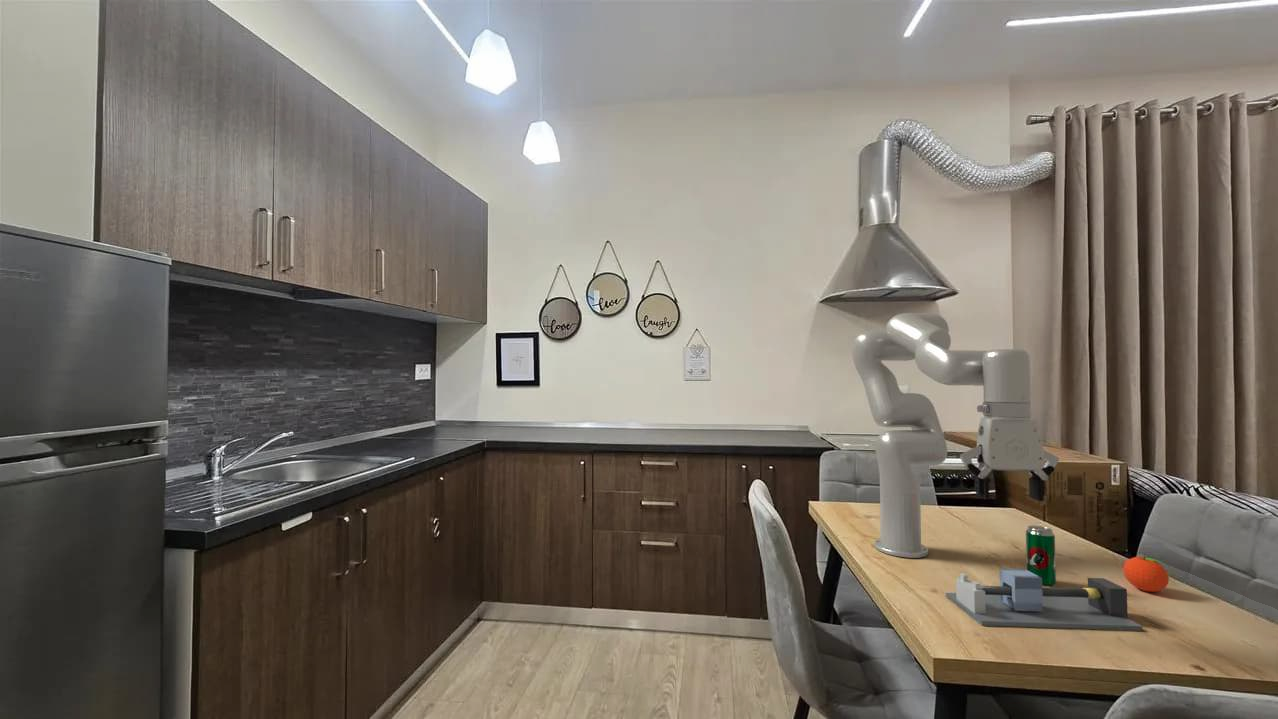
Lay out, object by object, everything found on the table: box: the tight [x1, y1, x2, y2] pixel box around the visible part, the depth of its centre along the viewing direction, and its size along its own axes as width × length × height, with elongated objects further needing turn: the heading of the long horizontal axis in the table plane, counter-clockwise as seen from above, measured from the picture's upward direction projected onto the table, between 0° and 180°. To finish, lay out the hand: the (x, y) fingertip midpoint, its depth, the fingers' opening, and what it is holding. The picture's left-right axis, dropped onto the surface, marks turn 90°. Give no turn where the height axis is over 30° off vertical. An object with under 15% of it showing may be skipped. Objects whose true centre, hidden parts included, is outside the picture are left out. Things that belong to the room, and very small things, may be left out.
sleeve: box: [999, 568, 1043, 611], centre depth 97 cm, size 5×4×6 cm
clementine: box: [1122, 556, 1174, 593], centre depth 106 cm, size 8×7×7 cm
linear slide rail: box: [945, 573, 1144, 632], centre depth 96 cm, size 28×12×6 cm, turn 86°
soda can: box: [1025, 525, 1057, 587], centre depth 111 cm, size 5×5×12 cm
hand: (1009, 498), depth 97 cm, fingers open, 9 cm apart
